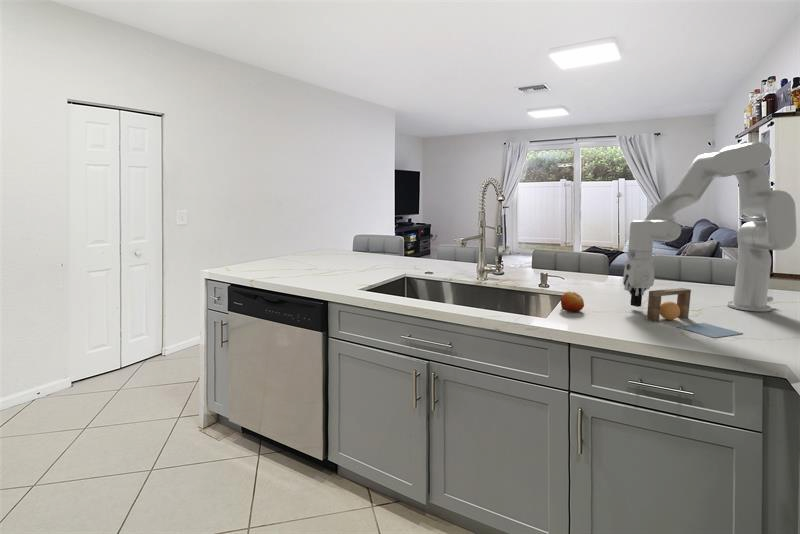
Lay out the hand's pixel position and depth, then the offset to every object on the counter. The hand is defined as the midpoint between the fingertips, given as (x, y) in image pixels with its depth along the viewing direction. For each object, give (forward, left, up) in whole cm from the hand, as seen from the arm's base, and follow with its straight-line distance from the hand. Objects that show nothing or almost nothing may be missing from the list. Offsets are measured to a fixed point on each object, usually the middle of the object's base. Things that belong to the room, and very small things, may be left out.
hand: (635, 305), depth 161 cm
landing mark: (0, +27, -2) cm, 27 cm away
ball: (0, +14, +2) cm, 14 cm away
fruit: (+23, -6, -2) cm, 24 cm away
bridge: (0, +13, -2) cm, 13 cm away
